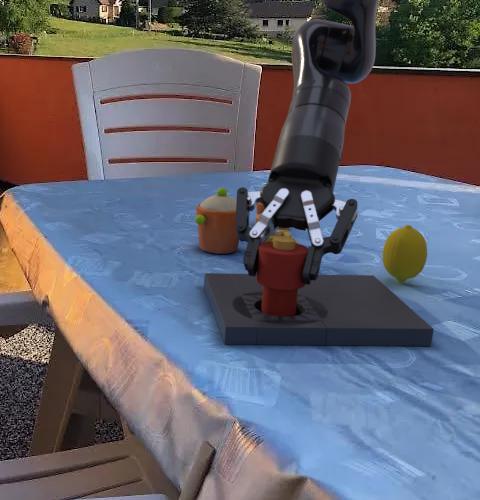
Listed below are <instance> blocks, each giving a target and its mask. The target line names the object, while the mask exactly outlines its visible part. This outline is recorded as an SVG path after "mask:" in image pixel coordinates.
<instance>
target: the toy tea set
mask: <svg viewBox="0 0 480 500" xmlns="http://www.w3.org/2000/svg"><path fill="white" fill-rule="evenodd" d="M265 185H266V184H264V185H263V186H262V188H263V187H264V186H265ZM262 188H261V189H262ZM227 194H228V190H227V188H226V187H219V188H218V189H217V191H216V194H214V195H211V196H209V197H207V198H206V199H204V200H203V201H202V202H201V203H199V204H197V206H196V207H195V215H196V216H195V218H194V222H195V223H196V225H197V235H198V242H199V243H198V244H199V248H200V250H201V251H203V252H206V253H209V254H216V255H226V254H227V255H228V254H232V253H235V252H236V251H237V250H238V247H239V243H240V240H239V239H238V235H237V232H236V228H235V222H236V202H237V198H235V197H233V196H231V195H227ZM255 209H256V215H255V224H256V223H257V222H258V221H259V218H260V215H261V214H262V213H263V211H264V210H265V207H264V205H263V204H262V202H259V203H257V204H256V207H255ZM277 236H288V237H292V236H293V235H292V233H291V232H290V228H280V227H279V228H278V229H277V230H276V232H275V233H274V234H273V235H272V236H269V238H268V239H267V240H266V242H270V241H273V238H274V237H277ZM296 243H297V244H299V241H296Z"/></svg>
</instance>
